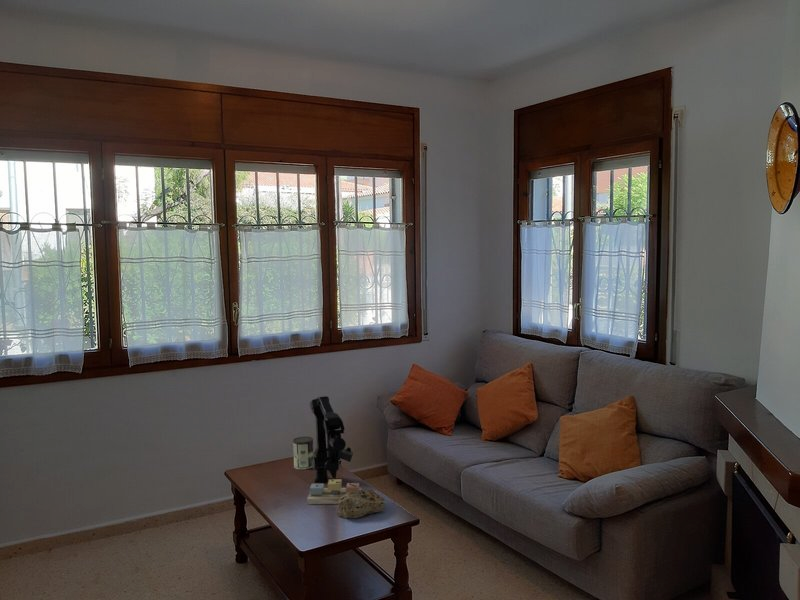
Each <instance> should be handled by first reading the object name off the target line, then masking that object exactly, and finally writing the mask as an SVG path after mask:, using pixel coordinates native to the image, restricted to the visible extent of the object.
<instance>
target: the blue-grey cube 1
mask: <svg viewBox="0 0 800 600" xmlns="http://www.w3.org/2000/svg"><path fill="white" fill-rule="evenodd" d="M324 488H325V483H311V484H310V487H309V493H310V495H323V492H324Z"/></svg>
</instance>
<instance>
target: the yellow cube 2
mask: <svg viewBox="0 0 800 600" xmlns="http://www.w3.org/2000/svg"><path fill="white" fill-rule="evenodd" d="M342 480H343V479H341V478H340V479H337V478H336V479H333V478H332V479H330V478H329V480H328V482H327V488H328V491H331V495H338V494H339V490H341V488H342V487H343V486H342V485H343V481H342Z"/></svg>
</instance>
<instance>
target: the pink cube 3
mask: <svg viewBox="0 0 800 600" xmlns="http://www.w3.org/2000/svg"><path fill="white" fill-rule="evenodd" d="M345 488H346V493H347V492H350V491H351V492H353V491H355V490H360V489H359V488H360V482H347V483H346V486H345Z"/></svg>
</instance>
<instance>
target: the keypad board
mask: <svg viewBox="0 0 800 600" xmlns="http://www.w3.org/2000/svg"><path fill="white" fill-rule="evenodd" d="M359 489H360V490H363V488H362V487H359ZM345 494H346V487H341V490H339V494H338V495H331V491H328V487H324V492H323V495H310V492H309V494H308V495H307V498H306V499H307V502H306V503H307V505H336V504H337V505H338V501H339V500H340V498H341V497H342V496H343V495H345Z"/></svg>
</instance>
